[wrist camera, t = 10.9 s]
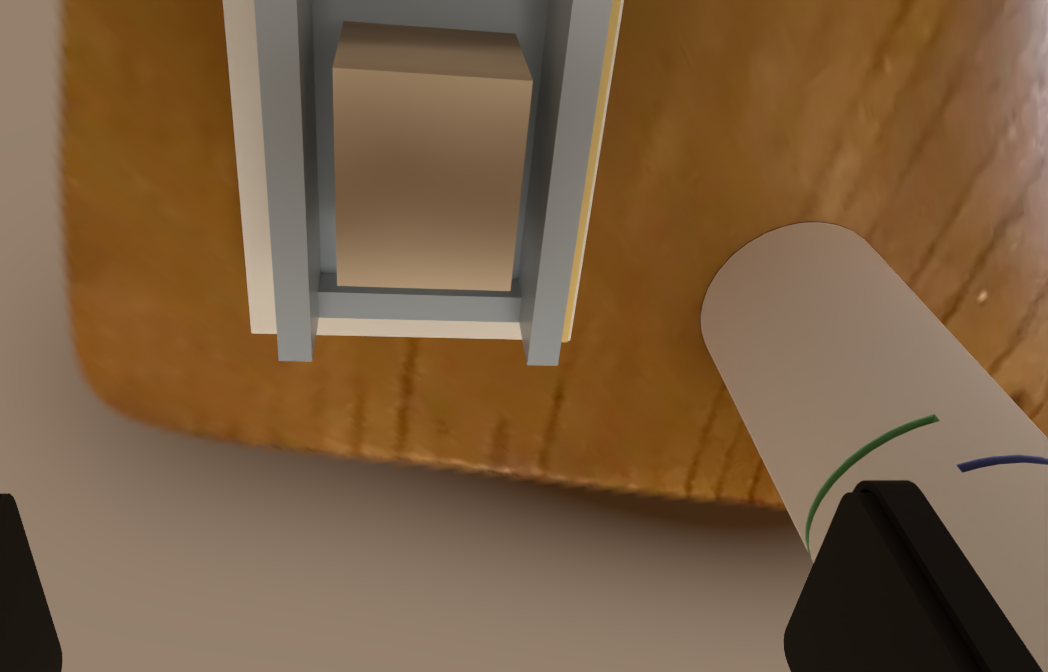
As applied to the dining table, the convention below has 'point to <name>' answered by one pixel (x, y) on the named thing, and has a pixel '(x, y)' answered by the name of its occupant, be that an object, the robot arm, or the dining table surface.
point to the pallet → (309, 170)
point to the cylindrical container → (879, 406)
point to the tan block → (428, 156)
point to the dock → (256, 200)
